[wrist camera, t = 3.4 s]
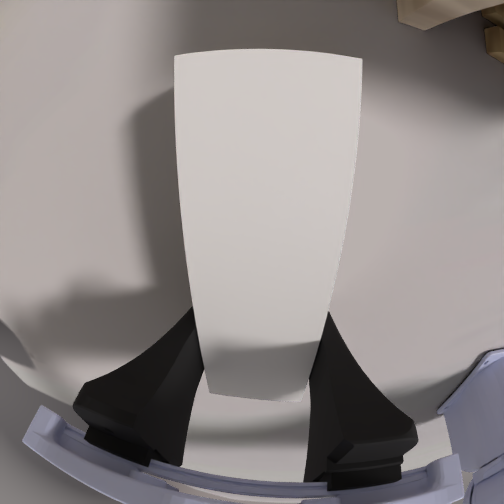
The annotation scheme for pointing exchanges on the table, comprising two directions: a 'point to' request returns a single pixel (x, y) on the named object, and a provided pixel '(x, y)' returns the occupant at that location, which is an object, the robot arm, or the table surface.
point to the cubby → (450, 7)
